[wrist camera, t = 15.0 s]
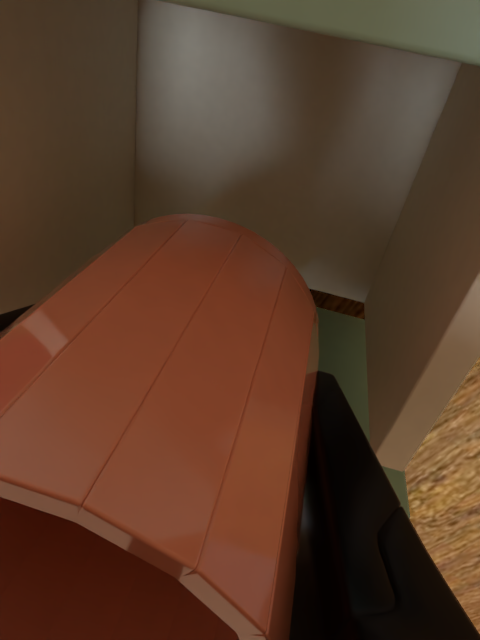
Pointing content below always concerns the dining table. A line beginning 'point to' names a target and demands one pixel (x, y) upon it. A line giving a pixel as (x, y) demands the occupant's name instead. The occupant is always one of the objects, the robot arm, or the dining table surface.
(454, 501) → the dining table surface
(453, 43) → the cabinet
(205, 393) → the cup
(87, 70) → the drawer
